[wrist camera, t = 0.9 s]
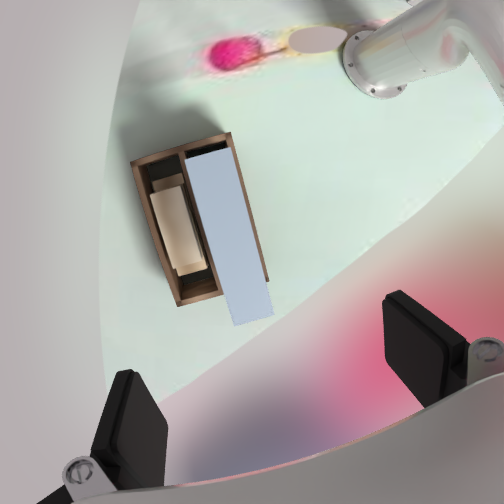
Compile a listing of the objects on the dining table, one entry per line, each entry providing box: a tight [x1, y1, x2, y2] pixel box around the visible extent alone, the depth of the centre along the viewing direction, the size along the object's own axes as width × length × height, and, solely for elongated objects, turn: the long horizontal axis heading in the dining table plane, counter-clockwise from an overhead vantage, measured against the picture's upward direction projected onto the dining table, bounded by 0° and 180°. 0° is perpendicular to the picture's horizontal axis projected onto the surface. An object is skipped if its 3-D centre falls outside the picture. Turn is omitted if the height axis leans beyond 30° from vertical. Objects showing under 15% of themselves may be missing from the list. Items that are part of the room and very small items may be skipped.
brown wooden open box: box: [130, 132, 269, 307], centre depth 44 cm, size 13×21×6 cm, turn 14°
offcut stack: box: [150, 172, 209, 276], centre depth 43 cm, size 4×14×8 cm, turn 14°
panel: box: [185, 147, 274, 326], centre depth 38 cm, size 4×16×20 cm, turn 14°
